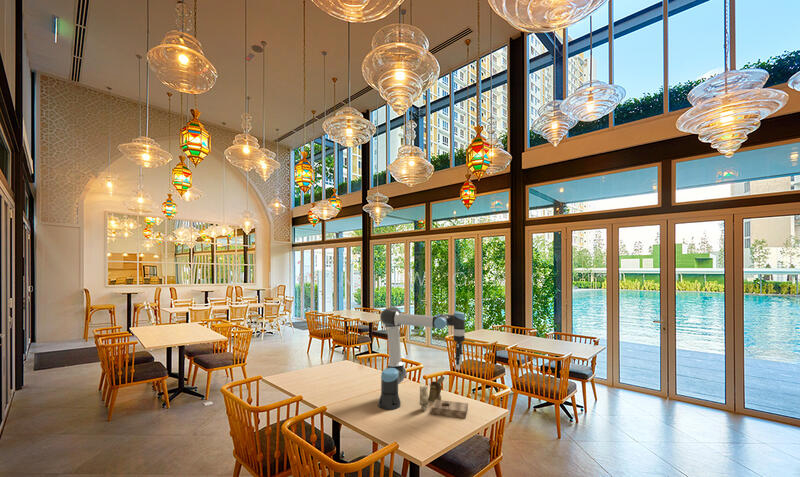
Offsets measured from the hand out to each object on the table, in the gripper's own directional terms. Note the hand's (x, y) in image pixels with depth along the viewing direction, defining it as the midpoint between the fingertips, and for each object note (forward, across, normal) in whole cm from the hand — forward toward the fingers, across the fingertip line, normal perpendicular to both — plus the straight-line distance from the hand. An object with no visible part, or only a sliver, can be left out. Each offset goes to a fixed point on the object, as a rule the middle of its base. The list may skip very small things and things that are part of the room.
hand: (458, 366), depth 242 cm
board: (+27, -10, +4) cm, 29 cm away
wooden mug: (+27, +8, +16) cm, 33 cm away
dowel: (+27, -12, +22) cm, 36 cm away
